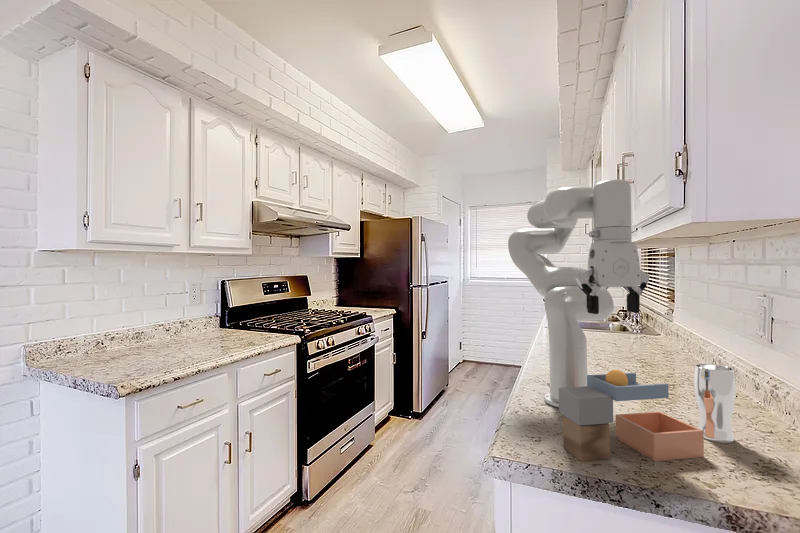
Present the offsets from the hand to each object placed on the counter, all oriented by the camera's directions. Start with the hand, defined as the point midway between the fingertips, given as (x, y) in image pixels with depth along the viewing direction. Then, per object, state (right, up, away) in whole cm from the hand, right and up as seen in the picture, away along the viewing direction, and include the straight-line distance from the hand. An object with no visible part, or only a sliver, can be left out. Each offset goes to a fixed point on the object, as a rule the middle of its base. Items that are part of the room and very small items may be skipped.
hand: (613, 312), depth 88 cm
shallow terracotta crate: (+5, -26, -8) cm, 28 cm away
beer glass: (+20, -26, -4) cm, 33 cm away
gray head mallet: (-6, -20, -6) cm, 21 cm away
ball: (-4, -12, -9) cm, 16 cm away
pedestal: (-11, -27, -10) cm, 30 cm away
